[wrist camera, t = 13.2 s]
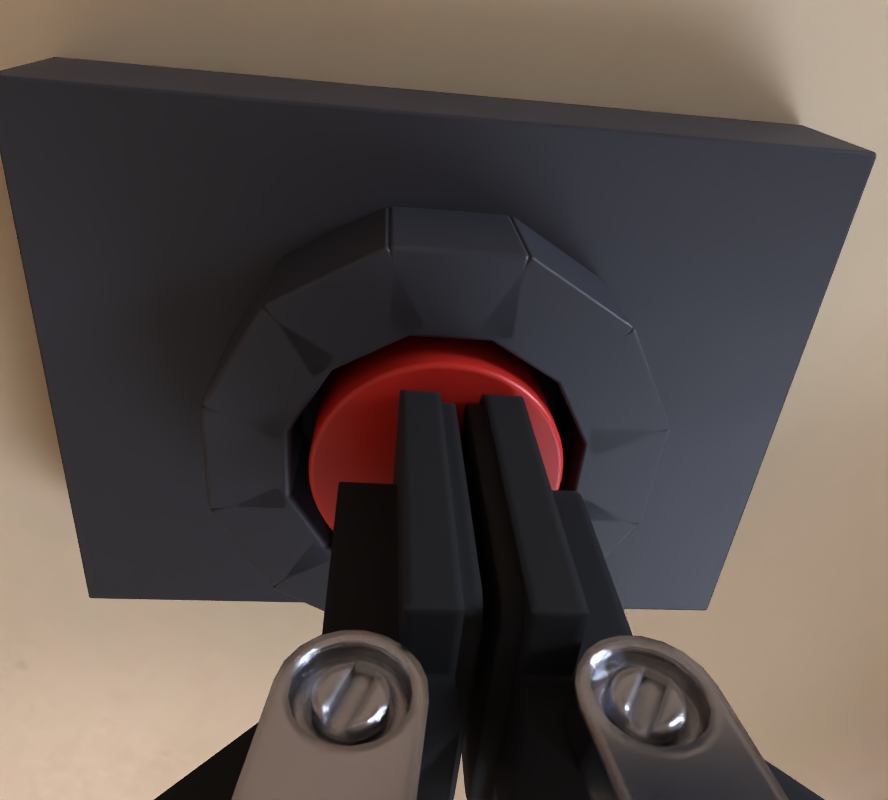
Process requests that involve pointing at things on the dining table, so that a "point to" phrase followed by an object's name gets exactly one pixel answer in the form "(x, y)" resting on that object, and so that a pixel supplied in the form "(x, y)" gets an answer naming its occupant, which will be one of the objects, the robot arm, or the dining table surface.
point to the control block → (402, 302)
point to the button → (377, 400)
